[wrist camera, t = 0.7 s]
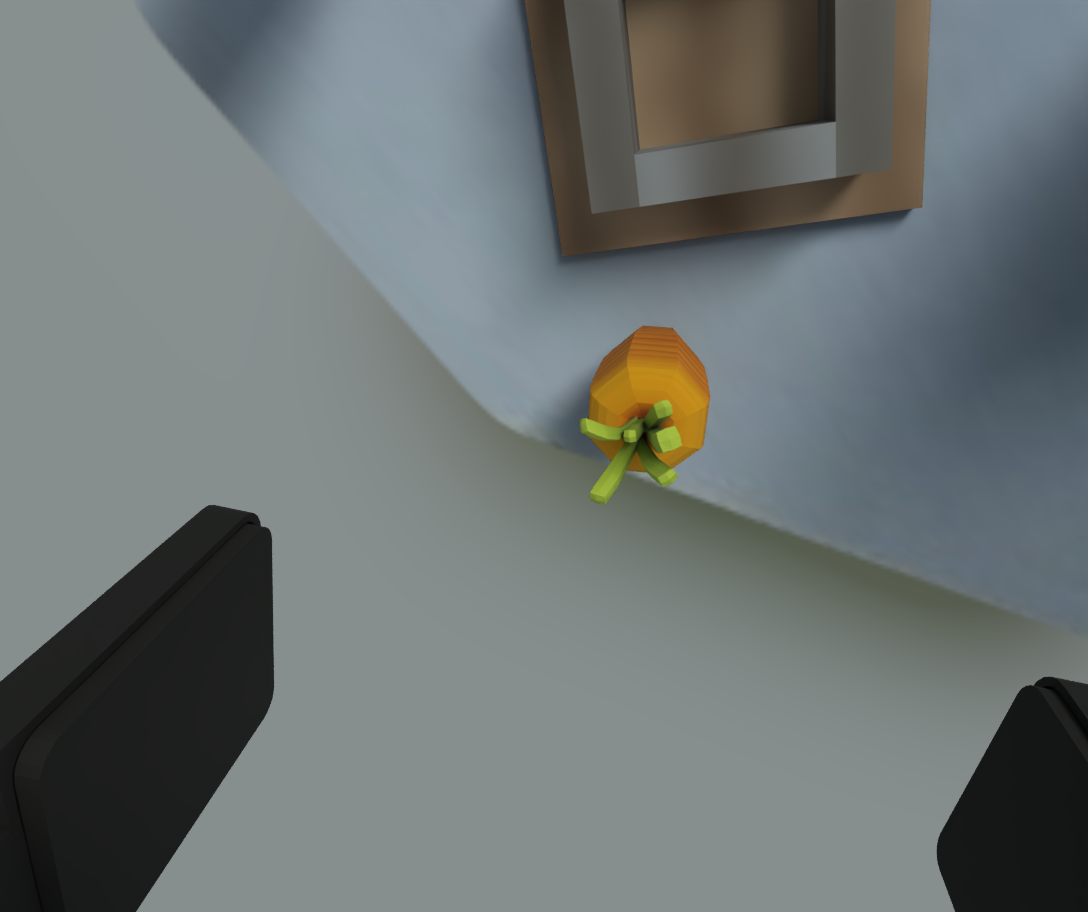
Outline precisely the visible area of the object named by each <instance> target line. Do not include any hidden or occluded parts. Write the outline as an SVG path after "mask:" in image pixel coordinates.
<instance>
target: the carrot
mask: <svg viewBox="0 0 1088 912" xmlns="http://www.w3.org/2000/svg"><path fill="white" fill-rule="evenodd" d="M709 401H710V393H709V387H708V380H707V376H706V372H705V368H704V366H703V364H702V363H701V361H700V360H699V358H698V357H697V356H696V355H695V354H694V352H693V351H692V350H691V349H690V348H689V347H688V345H687V344H686V343H685V342H684V341H683V340H682V338H681V337H680V336H679V335H678V334H677V333H676V331H675V330H674V329H673V328H665V327H652V326H642V327H640V328H639V329H638V330H636V331H635V332H634V333H633V334H632V335H630V336H629V337H628V338H627V339H625V340H624V341H623V342H622V343H621V344H619V345H618V346H617V347H616V348H614V349H613V350H612V351H611V352H610V353H609V354H608V355H607V356H606V357H605V358H604V359H603V361H602V362H601V364H600V366H599V368H598V370H597V372H596V374H595V377H594V379H593V381H592V384H591V386H590V401H589V417H588V419H587V418H582V419H581V420H580V425H579V427H580V430H581V433H582V434H584V435H586V436H588V437H589V438H590V439H591V440H592V441H593V442H594V443H595V444H596V446H597V447H598V448H599V449H600V450H601V451H602V452H603V453H604V454H605V455H606V456H607V457H608V458H609V460H610V461H611V463H610V464H609V466H608V467H607V469H606V470H605V472H604V473H603V474H602V476H601V477H600V479H599V480H598V481H597V483H596V484H595V486H594V487H593V489H592V491H591V492H590V498H591V500H592V501H594V502H596V503H600V504H606V503H607V501H608V500H609V499H610V498H611V497H612V495H613V494H614V492H615V490H616V489H617V487H618V485H619V484H620V482H621V480H622V478H623V476H624V474H625V472H626V470H628V471H637V472H647V473H648V474H649V475H650V476H651V477H652V478H653V479H654V480H655V481H656V482H658V483H659V484H661V485H662V486H664V487H666V486H668V485H670V484H672V483H673V482H674V481H675V480H676V479H677V478H678V476H677V474H676V472H675V471H674V470H673V469H672V468H674V467H675V466H677V465H678V464H679V463H681V462H682V461H684V460H685V459H687V458H688V457H689V456H691V455H692V454H694V453H695V452H696V451H698V450H699V449H701V448H702V446H703V444H704V437H705V430H706V422H707V415H708V408H709Z"/></svg>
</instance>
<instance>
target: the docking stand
mask: <svg viewBox="0 0 1088 912" xmlns="http://www.w3.org/2000/svg"><path fill="white" fill-rule="evenodd" d="M524 2H525V8H526V15H527V22H528V29H529V35H530V42H531V49H532V55H533V62H534V69H535V76H536V82H537V89H538V96H539V103H540V109H541V116H542V123H543V129H544V136H545V143H546V150H547V156H548V163H549V170H550V176H551V183H552V190H553V197H554V203H555V210H556V217H557V223H558V230H559V237H560V244H561V250H562V257H563V256H571V255H578V254H585V253H593V252H600V251H607V250H615V249H622V248H629V247H637V246H644V245H651V244H658V243H666V242H673V241H680V240H688V239H695V238H702V237H710V236H717V235H724V234H732V233H739V232H746V231H754V230H761V229H768V228H775V227H783V226H790V225H797V224H805V223H812V222H819V221H827V220H834V219H841V218H849V217H856V216H863V215H870V214H878V213H885V212H892V211H900V210H907V209H914V208H922V201H923V177H924V153H925V129H926V105H927V81H928V57H929V33H930V9H931V0H524Z"/></svg>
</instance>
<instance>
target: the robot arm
mask: <svg viewBox="0 0 1088 912" xmlns="http://www.w3.org/2000/svg"><path fill="white" fill-rule="evenodd" d="M272 588H273V586H272V537H271V532H270V530H269V529H268V528H266V527H261V525H260V520H259V518H258V516H257V515H256V514H254V513H250V512H246V511H241V510H236V509H231V508H226V507H221V506H216V505H209V506H207V507H205V508H204V509H202V510H201V511H200V512H199V513H198V514H196V515H195V516H194V517H193V518H192V519H191V520H190V521H188V522H187V523H186V524H185V525H184V526H182V527H181V528H180V529H179V530H178V531H176V532H175V533H174V534H173V535H172V536H171V537H170V538H168V539H167V540H166V541H165V542H164V543H162V544H161V545H160V546H159V547H158V548H156V549H155V550H154V551H153V552H152V553H151V554H149V555H148V556H147V557H146V558H145V559H144V560H142V561H141V562H140V563H139V564H138V565H137V566H135V567H134V568H133V569H132V570H131V571H130V572H128V573H127V574H126V575H125V576H124V577H123V578H121V579H120V580H119V581H118V582H117V583H115V584H114V585H113V586H112V587H111V588H110V589H108V590H107V591H106V592H105V593H104V594H103V595H102V596H100V597H99V598H98V599H97V600H96V601H94V602H93V603H92V604H91V605H90V606H89V607H87V608H86V609H85V610H84V611H83V612H81V613H80V614H79V615H78V616H77V617H76V618H74V619H73V620H72V621H71V622H70V623H69V624H67V625H66V626H65V627H64V628H63V629H62V630H61V631H59V632H58V633H57V634H56V635H55V636H54V637H52V638H51V639H50V640H49V641H47V643H45V644H44V645H43V646H42V647H40V648H39V649H38V650H37V651H36V652H35V653H33V654H32V655H31V656H30V657H29V658H28V659H26V660H25V661H24V662H23V663H22V664H21V665H19V666H18V667H17V668H16V669H15V670H13V671H12V672H11V673H10V674H9V675H8V676H7V677H5V678H4V679H3V680H2V681H1V682H0V912H136V911H137V909H138V908H139V906H140V905H141V903H142V902H143V900H144V899H145V897H146V896H147V894H148V893H149V891H150V890H151V888H152V887H153V885H154V884H155V882H156V881H157V879H158V878H159V876H160V874H161V873H162V872H163V870H164V869H165V867H166V865H167V864H168V863H169V861H170V859H171V858H172V856H173V855H174V853H175V852H176V850H177V849H178V847H179V846H180V844H181V843H182V841H183V839H184V838H185V837H186V835H187V834H188V832H189V831H190V829H191V828H192V826H193V825H194V823H195V822H196V820H197V819H198V817H199V815H200V814H201V813H202V811H203V810H204V808H205V807H206V805H207V803H208V802H209V800H210V799H211V797H212V796H213V794H214V793H215V791H216V790H217V788H218V787H219V785H220V784H221V782H222V781H223V779H224V778H225V776H226V775H227V773H228V771H229V770H230V769H231V767H232V766H233V764H234V763H235V761H236V759H237V758H238V757H239V755H240V754H241V752H242V751H243V749H244V747H245V746H246V745H247V743H248V741H249V740H250V738H251V737H252V735H253V734H254V732H255V731H256V729H257V728H258V726H259V725H260V723H261V722H262V720H263V719H264V717H265V715H266V713H267V711H268V709H269V706H270V704H271V701H272V697H273V691H274V663H273V662H274V657H273V656H274V655H273V589H272ZM937 861H938V865H939V869H940V872H941V875H942V877H943V880H944V883H945V885H946V888H947V891H948V894H949V896H950V899H951V901H952V904H953V907H954V910H955V912H1088V684H1084V683H1079V682H1074V681H1069V680H1064V679H1059V678H1055V677H1043V678H1042V679H1040V680H1038V681H1037V682H1036V683H1035V685H1034V686H1032V685H1029V686H1025V687H1024V688H1022V689H1021V690H1020V691H1019V693H1018V694H1017V696H1016V698H1015V700H1014V701H1013V703H1012V705H1011V707H1010V709H1009V710H1008V712H1007V714H1006V716H1005V718H1004V720H1003V721H1002V723H1001V725H1000V727H999V729H998V731H997V732H996V734H995V736H994V738H993V739H992V741H991V743H990V745H989V747H988V749H987V750H986V752H985V754H984V756H983V758H982V760H981V761H980V763H979V765H978V767H977V768H976V770H975V772H974V774H973V776H972V777H971V779H970V781H969V783H968V785H967V786H966V788H965V790H964V792H963V794H962V795H961V797H960V799H959V801H958V803H957V804H956V806H955V808H954V810H953V812H952V814H951V815H950V817H949V819H948V821H947V823H946V824H945V826H944V828H943V830H942V832H941V833H940V836H939V839H938V843H937Z"/></svg>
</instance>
